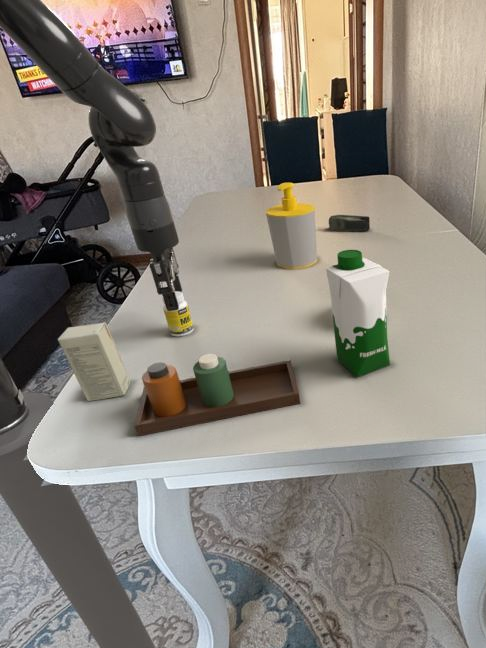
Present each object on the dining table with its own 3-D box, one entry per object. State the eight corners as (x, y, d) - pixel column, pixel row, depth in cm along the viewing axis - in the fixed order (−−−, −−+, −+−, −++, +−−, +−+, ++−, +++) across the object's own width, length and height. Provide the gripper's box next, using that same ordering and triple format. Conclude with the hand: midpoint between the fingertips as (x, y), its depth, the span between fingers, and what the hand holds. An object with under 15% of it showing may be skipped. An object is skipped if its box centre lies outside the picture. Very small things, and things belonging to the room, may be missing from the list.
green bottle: (202, 410, 74) (190, 369, 70) (202, 392, 78) (191, 353, 75) (234, 403, 75) (224, 363, 71) (233, 386, 80) (223, 347, 76)
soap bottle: (264, 266, 130) (250, 188, 119) (290, 251, 140) (280, 177, 129) (304, 272, 125) (294, 190, 114) (328, 256, 135) (321, 179, 124)
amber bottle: (152, 420, 73) (137, 379, 69) (155, 401, 77) (141, 361, 73) (185, 413, 74) (172, 372, 70) (187, 395, 78) (175, 356, 74)
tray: (138, 436, 70) (134, 426, 69) (147, 396, 79) (143, 386, 78) (300, 403, 75) (299, 393, 74) (292, 369, 84) (290, 359, 83)
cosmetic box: (131, 382, 83) (108, 321, 77) (125, 396, 79) (100, 333, 73) (93, 387, 82) (66, 326, 76) (84, 402, 79) (56, 338, 72)
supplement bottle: (186, 337, 97) (176, 300, 92) (166, 336, 97) (154, 299, 93) (198, 326, 101) (188, 290, 96) (178, 325, 101) (168, 289, 97)
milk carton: (370, 345, 90) (364, 244, 80) (397, 365, 83) (395, 258, 73) (330, 359, 86) (319, 255, 76) (355, 382, 80) (346, 271, 69)
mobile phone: (369, 214, 153) (325, 213, 156) (368, 217, 151) (323, 216, 153) (370, 229, 156) (326, 228, 158) (368, 232, 153) (324, 231, 156)
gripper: (136, 214, 92) (160, 290, 100) (123, 235, 80) (151, 319, 89) (176, 210, 93) (196, 285, 102) (168, 229, 82) (192, 312, 90)
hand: (175, 301), depth 95 cm, fingers open, 8 cm apart
